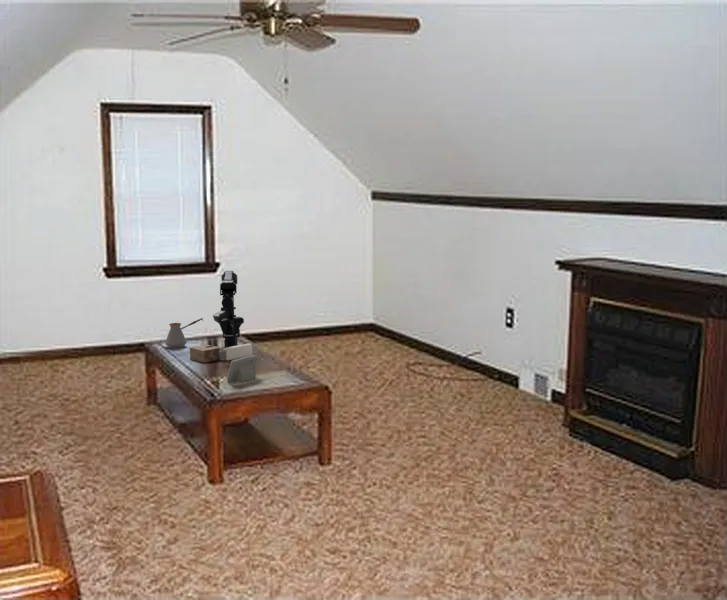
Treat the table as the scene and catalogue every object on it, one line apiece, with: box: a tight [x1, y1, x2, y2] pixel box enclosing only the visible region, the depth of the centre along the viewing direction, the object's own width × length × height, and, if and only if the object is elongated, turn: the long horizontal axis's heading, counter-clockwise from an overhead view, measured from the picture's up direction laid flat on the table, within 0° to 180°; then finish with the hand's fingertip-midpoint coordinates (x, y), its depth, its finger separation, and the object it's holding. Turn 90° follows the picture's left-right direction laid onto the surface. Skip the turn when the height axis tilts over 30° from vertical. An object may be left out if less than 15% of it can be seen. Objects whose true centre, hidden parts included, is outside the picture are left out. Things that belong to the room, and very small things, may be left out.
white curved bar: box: [219, 343, 253, 361], centre depth 408 cm, size 20×3×6 cm, turn 137°
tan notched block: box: [189, 344, 221, 363], centre depth 405 cm, size 10×12×6 cm
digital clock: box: [226, 354, 258, 384], centre depth 364 cm, size 16×9×11 cm, turn 133°
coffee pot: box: [164, 317, 204, 349], centre depth 436 cm, size 21×12×15 cm, turn 113°
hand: (229, 335), depth 408 cm, fingers open, 9 cm apart
